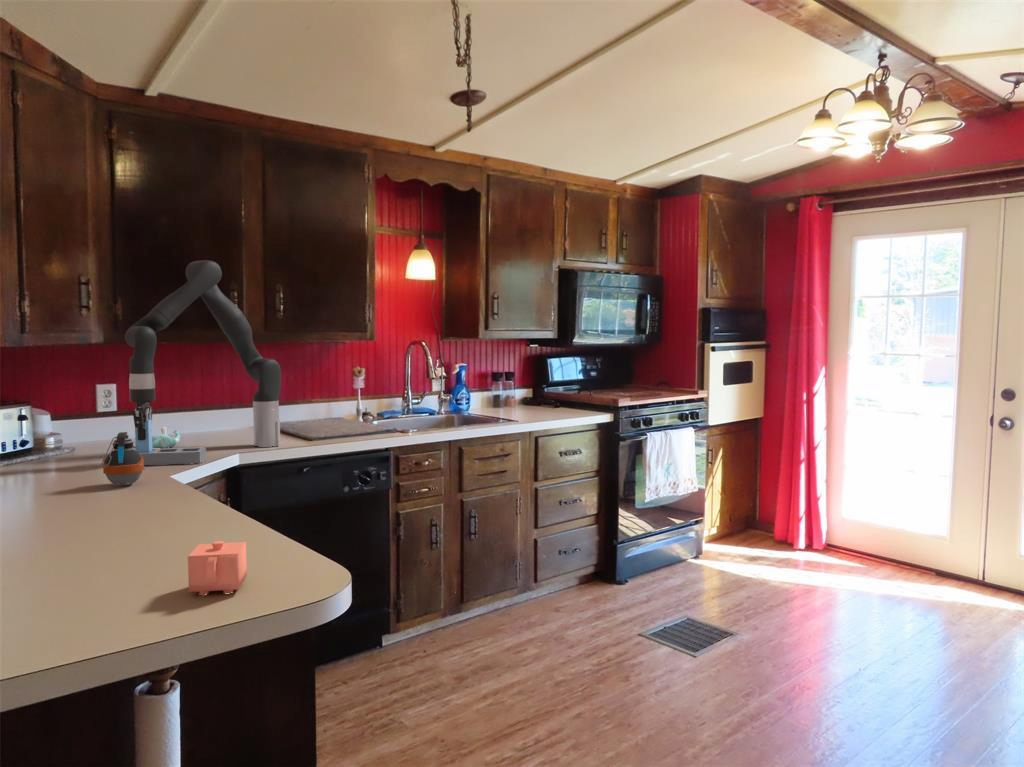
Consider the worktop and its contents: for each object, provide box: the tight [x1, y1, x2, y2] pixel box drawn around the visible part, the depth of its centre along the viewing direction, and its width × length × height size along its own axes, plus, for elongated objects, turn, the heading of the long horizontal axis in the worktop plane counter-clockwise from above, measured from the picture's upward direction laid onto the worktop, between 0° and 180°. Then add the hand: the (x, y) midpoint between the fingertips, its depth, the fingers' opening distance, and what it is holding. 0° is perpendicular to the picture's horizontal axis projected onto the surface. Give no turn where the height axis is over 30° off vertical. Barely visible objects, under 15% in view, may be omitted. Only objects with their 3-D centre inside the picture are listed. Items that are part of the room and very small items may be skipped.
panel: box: [134, 446, 207, 466], centre depth 236 cm, size 22×10×4 cm, turn 103°
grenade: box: [101, 431, 145, 487], centre depth 200 cm, size 11×10×15 cm
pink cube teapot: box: [187, 540, 248, 595], centre depth 120 cm, size 8×12×8 cm, turn 10°
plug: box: [134, 418, 153, 453], centre depth 234 cm, size 4×4×11 cm
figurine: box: [152, 426, 181, 448], centre depth 271 cm, size 13×6×30 cm
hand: (143, 438), depth 234 cm, fingers closed on plug, 4 cm apart
